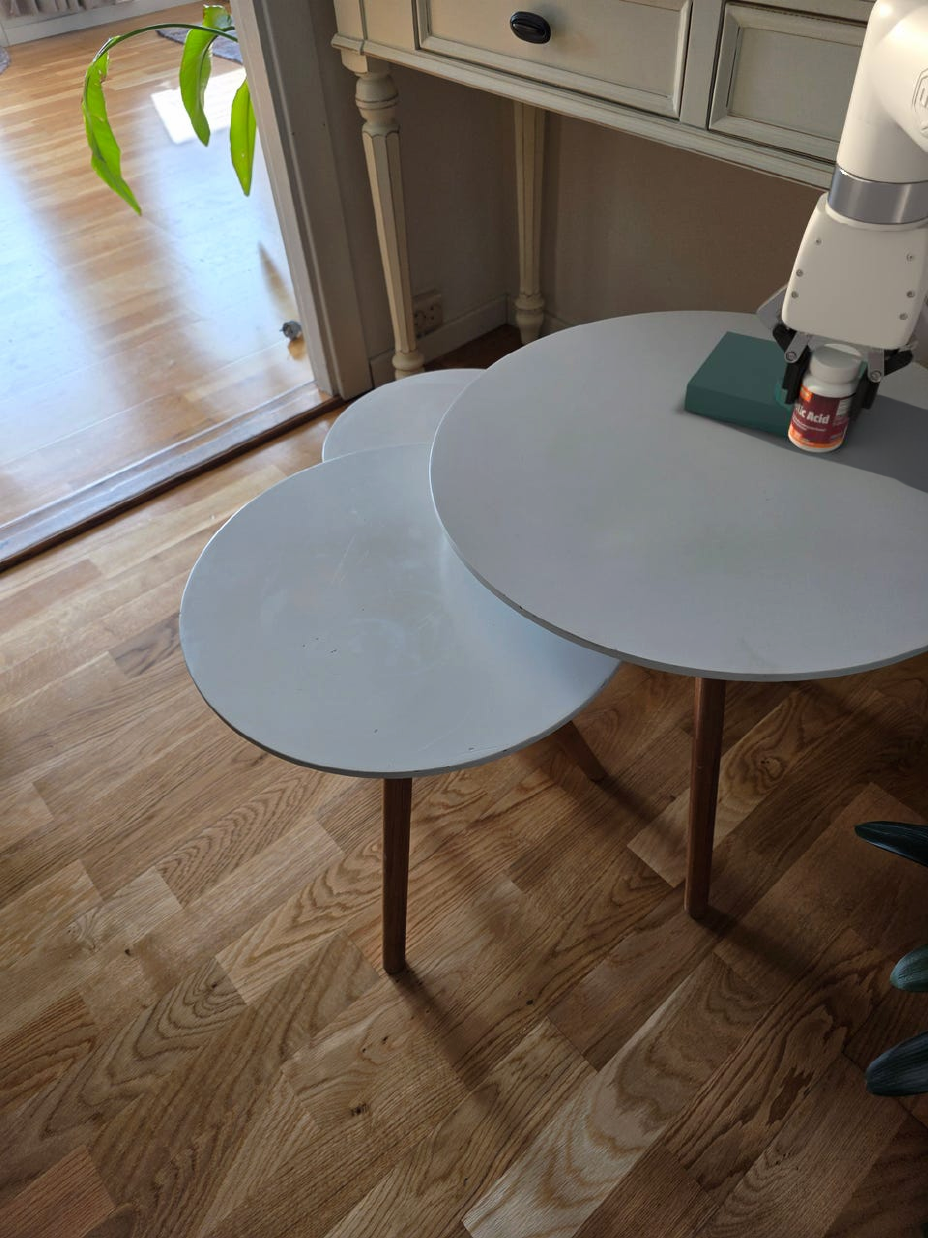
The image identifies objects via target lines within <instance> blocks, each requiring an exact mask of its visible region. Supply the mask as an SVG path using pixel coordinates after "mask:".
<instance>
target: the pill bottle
mask: <svg viewBox="0 0 928 1238" xmlns="http://www.w3.org/2000/svg"><path fill="white" fill-rule="evenodd" d="M814 350H815V351H814V352H813V355H812V359H811V362H810V368H809V369H807V370H806V371H805V373H804V375H803V377H802V380H801V384H800V389H799V392H798V397H797V400H796V404H795V408H794V412H793V416H792V419H791V424H790V428H789V433H788V434H789V437H788V438H789V440H790V442H792V443H793V444H794V445H795V446H796V447H798V448H800V449H802V450H804V451H806V452H812V453H825V452H830V451H834V450H836V449H837V448H839V447H840V446H841V444H842V443H843V440H844V439H845V435H846V431H847V429H848V425H849V422H850V420H849V419H850V418H848V416H849V413H850V410H851V406H852V403H853V400H854V397H855V393H856V390H857V387H858V384H859V381H860V378H859V376H858V375H859V372H860V369H861V366H862V362H863V361H864V356H863V354H862V353H861V351H859V350H858V349H857V348H854V347H852V346H850V345H846V344H842V343H827V344H826V343H825V344H821V345H820V346H818V347H816V348H815V349H814Z"/></svg>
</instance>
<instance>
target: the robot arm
mask: <svg viewBox="0 0 928 1238" xmlns="http://www.w3.org/2000/svg"><path fill="white" fill-rule="evenodd" d="M863 39H864V40H863V44H862V48H861V52H860V56H859V61H858V65H857V69H856V72H855V78H854V82H853V86H852V90H851V94H850V99H849V103H848V107H847V112H846V115H845V120H844V125H843V128H842V133H841V137H840V142H839V146H838V150H837V154H836V159H835V163H834V168H833V172H832V177H831V180H830V185H829V189H828V191H826V192H824V193H823V194H821V196H819V199H818V201H817V202H816V205H815V207H814V209H813V212H812V214H811V216H810V219H809V221H808V224H807V226H806V228H805V231H804V234H803V237H802V239H801V242H800V246H799V249H798V252H797V255H796V257H795V261H794V263H793V268H792V271H791V274H790V278H789V280H788V282H786V283H784V285H783V286H781V287H780V288H779V289H778V290H777V291H776V292H774V293H773V294H772V295H771V296H770V297H768V298H767V299H766V300H764V301H763V302H762V303H761V304H760V306H759V307H758V308H757V310H756V312H755V315H756V318H757V319H758V321H760V322H761V323H762V324H763V325H764V326H765V328H767V329H768V330H769V331H770V332H771V334H772V335H771V336H772V337H773V339H774V340H775V342H777V343H778V344H779V346H780V347H781V348H782V350H783V351H784V353H785V354H784V358H785V360H786V361H787V367H786V371H785V375H784V379H783V384H782V389H786V390H788V391H787V395H786V399H785V404H787V405H791V404H794V402H795V401H796V399H797V397H798V392H799V389H800V384H801V380H802V377H803V375H804V373H805V371H806V370H807V369H808V366H809V362H810V358H811V354H812V352H810V350H812V348H810V346H809V343H810V341H811V340H812V337H813V336H817V337H822V338H826V339H831V340H835V341H839V342H844V343H849V344H854V345H858V346H863V347H867V362H868V366H867V368H866V369H865V371H864V373H863V375H862V377H861V379H860V381H859V384H858V387H857V390H856V393H855V397H854V400H853V403H852V406H851V410H850V413H849V416H848V418H850V420H849V421H852V422H857V421H858V420H859V417H860V414H861V413H862V411H863V409H865V410H868V411H871V409H872V407H873V405H874V403H875V400H876V397H877V393H878V390H879V388H880V385H881V381H882V380H883V379H884V378H885V377H887V376H889V375H892V374H893V373H895V372H897V371H899V370H901V369H904V368H905V367H907V366H909V365H910V364H912V363H914V362H919V361H921V360H925V359H927V358H928V305H927V301H928V0H876V1H875V3H874V4H873V6H872V9H871V12H870V15H869V18H868V22H867V26H866V30H865V35H864V38H863ZM912 334H914V337H915V339H916V340H914V341H912V342H911V343H908V342H909V340H910V338H911V336H912Z"/></svg>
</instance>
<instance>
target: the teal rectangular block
mask: <svg viewBox="0 0 928 1238" xmlns="http://www.w3.org/2000/svg"><path fill="white" fill-rule="evenodd" d="M814 351H815V349H811V350H810V352H812V354H811V358H810V360H811V359H812V355H813V352H814ZM784 354H785V353H784V351H783V350H782V348H781V347H780V346H779V344H778V343H777V341H774V340H769V339H766V338H760V337H756V336H751V335H747V334H743V333H737V332H732V331H728V330H727V331H726V332H725V333H724V335H723V336H722V337H721V338H720V340H719V341H718V343H717V344H716V345H715V347H714V348H713V350H712V351H711V352H710V353H709V355H708V356H707V357H706V358H705V359H704V361H703V363H702V364H701V365H700V367H698V369H697V371H696V372H695V373H694V374H693V375H692V377H691V379H689V381H688V382H687V384H686V390H685V397H684V405H683V410H684V411H686V412H690V413H694V414H699V415H703V416H706V417H709V418H713V419H718V420H721V421H725V422H729V423H732V424H737V425H740V426H744V427H748V428H752V429H756V430H760V431H764V432H767V433H771V434H774V435H778V436H783V437H787V438H789V434H788V433H789V428H790V424H791V419H792V416H793V412H794V408H795V404H796V401H795V402H794V404H791V405H787V404H785V399H786V395H787V391H788V390H786V389H782V384H783V379H784V375H785V371H786V367H787V361H786V360H785V358H784ZM867 366H868V361H866V360H865V361H864V360H863V362H862V366H861V369H860V372H859V375H858V376H859V378H860V379H861V377H862V375H863V373H864V371H865V369H866V368H867ZM796 400H797V399H796ZM849 421H851V420H850V419H849Z"/></svg>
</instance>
